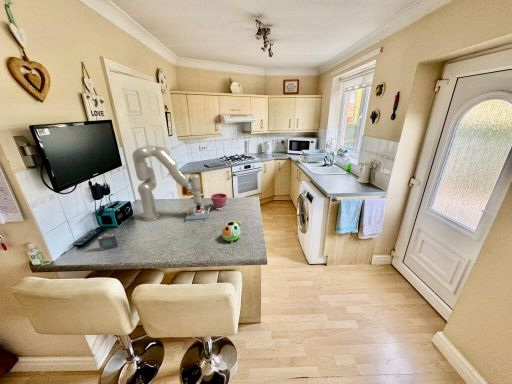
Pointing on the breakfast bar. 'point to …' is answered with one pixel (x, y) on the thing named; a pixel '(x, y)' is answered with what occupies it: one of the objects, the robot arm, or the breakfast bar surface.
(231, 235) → the turtle holder
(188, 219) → the panel
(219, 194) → the plant pot
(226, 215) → the breakfast bar surface
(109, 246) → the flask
